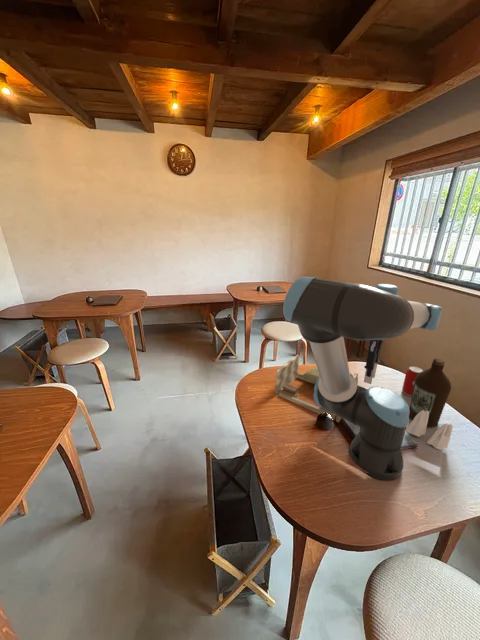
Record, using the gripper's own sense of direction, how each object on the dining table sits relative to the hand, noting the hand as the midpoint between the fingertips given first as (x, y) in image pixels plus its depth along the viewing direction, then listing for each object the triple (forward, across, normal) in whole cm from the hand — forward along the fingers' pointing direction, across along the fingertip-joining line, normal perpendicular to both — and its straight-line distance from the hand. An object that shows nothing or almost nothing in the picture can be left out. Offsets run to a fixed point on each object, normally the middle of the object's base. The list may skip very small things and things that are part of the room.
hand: (369, 379), depth 107 cm
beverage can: (+11, +18, -14) cm, 25 cm away
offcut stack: (+11, -16, +27) cm, 33 cm away
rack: (+10, -9, +18) cm, 23 cm away
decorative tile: (+6, -7, +16) cm, 19 cm away
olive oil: (+11, +2, -20) cm, 23 cm away
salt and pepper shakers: (+11, -10, -22) cm, 26 cm away
